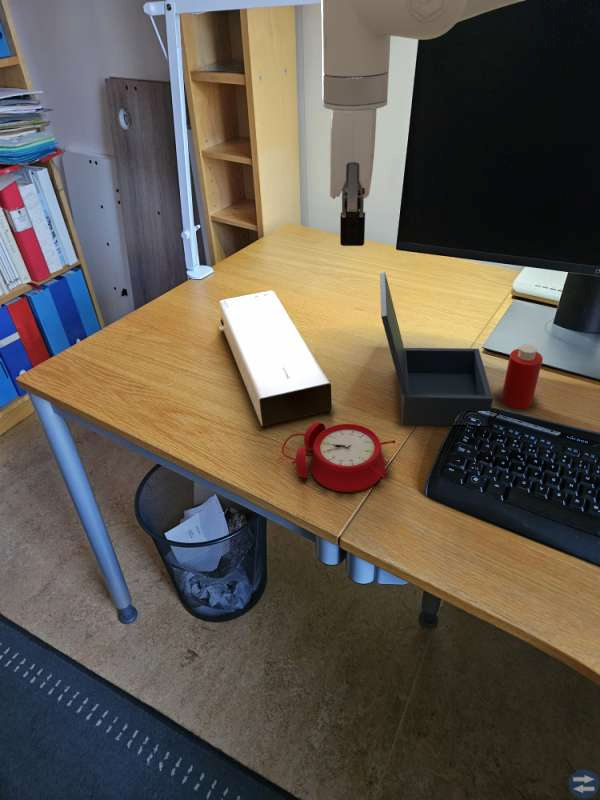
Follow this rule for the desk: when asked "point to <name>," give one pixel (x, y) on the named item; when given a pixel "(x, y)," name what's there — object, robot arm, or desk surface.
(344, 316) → the desk surface
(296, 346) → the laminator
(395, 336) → the bin lid
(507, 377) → the ketchup bottle
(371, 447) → the alarm clock
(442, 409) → the bin
